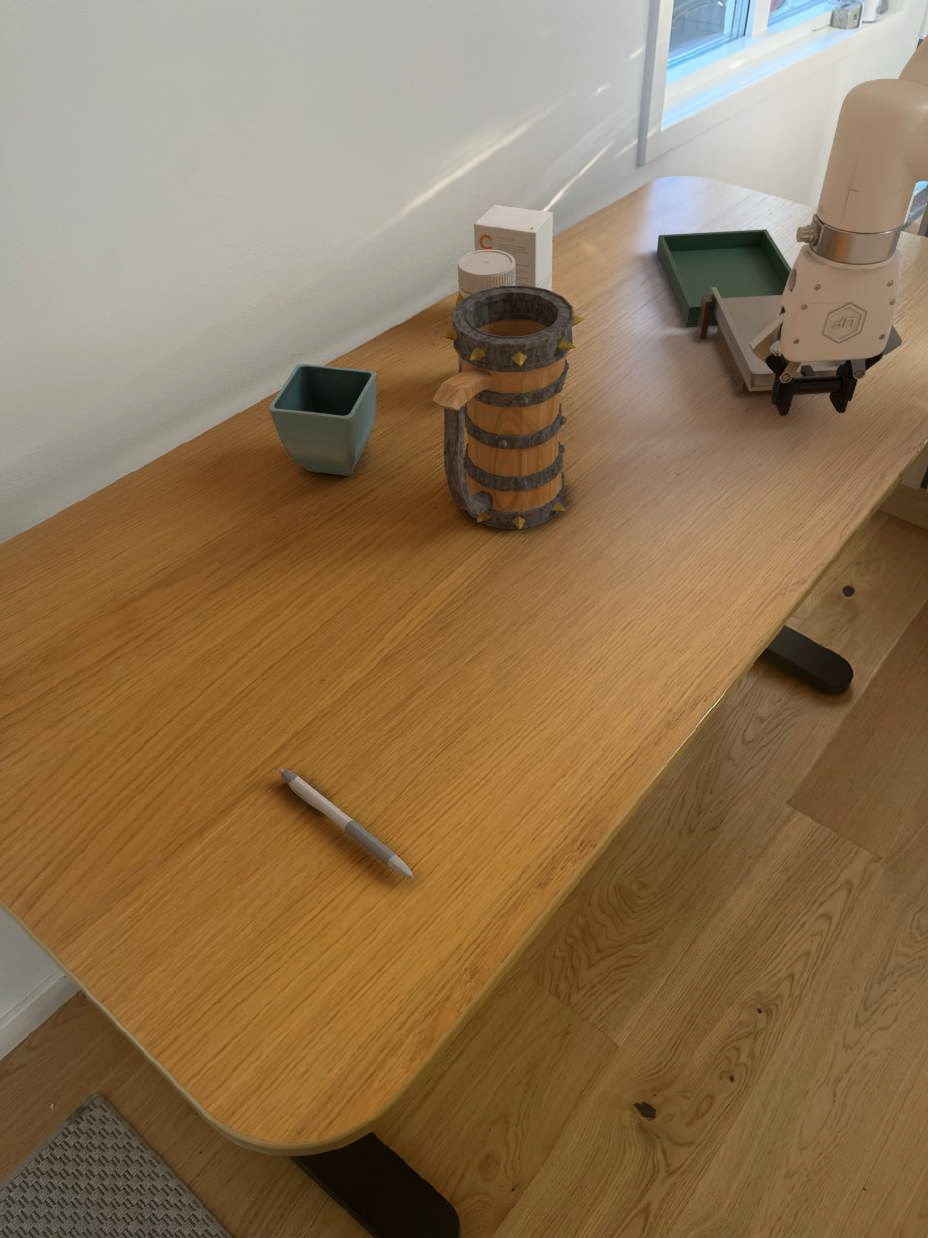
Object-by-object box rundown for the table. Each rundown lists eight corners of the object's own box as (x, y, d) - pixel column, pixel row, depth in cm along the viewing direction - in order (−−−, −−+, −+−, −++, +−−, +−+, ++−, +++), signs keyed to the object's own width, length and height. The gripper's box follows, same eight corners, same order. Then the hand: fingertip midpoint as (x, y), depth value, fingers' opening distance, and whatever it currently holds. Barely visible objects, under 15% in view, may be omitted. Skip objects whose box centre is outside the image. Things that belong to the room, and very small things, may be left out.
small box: (551, 312, 120) (554, 211, 110) (534, 334, 116) (536, 232, 106) (494, 302, 122) (493, 202, 113) (476, 324, 118) (472, 223, 109)
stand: (838, 388, 104) (849, 349, 101) (722, 394, 105) (730, 355, 101) (801, 326, 115) (810, 288, 111) (696, 331, 115) (702, 293, 111)
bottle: (508, 405, 105) (508, 280, 94) (451, 396, 106) (444, 272, 96) (525, 374, 109) (527, 251, 98) (470, 366, 111) (465, 244, 100)
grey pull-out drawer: (863, 407, 96) (873, 379, 93) (758, 413, 96) (765, 384, 93) (797, 298, 112) (804, 271, 110) (708, 303, 112) (712, 276, 110)
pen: (287, 772, 71) (284, 762, 70) (418, 878, 64) (417, 868, 63) (277, 781, 70) (274, 770, 69) (408, 889, 63) (407, 879, 62)
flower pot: (361, 491, 95) (350, 417, 88) (282, 481, 96) (266, 408, 90) (386, 442, 101) (377, 369, 94) (311, 434, 102) (297, 362, 96)
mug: (600, 485, 94) (615, 301, 79) (505, 581, 85) (503, 393, 70) (497, 444, 99) (494, 266, 85) (398, 530, 90) (375, 347, 76)
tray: (806, 320, 115) (811, 300, 113) (686, 327, 116) (689, 306, 114) (762, 247, 130) (766, 228, 128) (656, 253, 130) (658, 234, 128)
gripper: (771, 259, 81) (735, 432, 94) (965, 249, 81) (902, 423, 94) (750, 224, 86) (719, 392, 99) (932, 214, 86) (877, 384, 99)
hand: (808, 406), depth 96 cm, fingers closed on grey pull-out drawer, 5 cm apart
